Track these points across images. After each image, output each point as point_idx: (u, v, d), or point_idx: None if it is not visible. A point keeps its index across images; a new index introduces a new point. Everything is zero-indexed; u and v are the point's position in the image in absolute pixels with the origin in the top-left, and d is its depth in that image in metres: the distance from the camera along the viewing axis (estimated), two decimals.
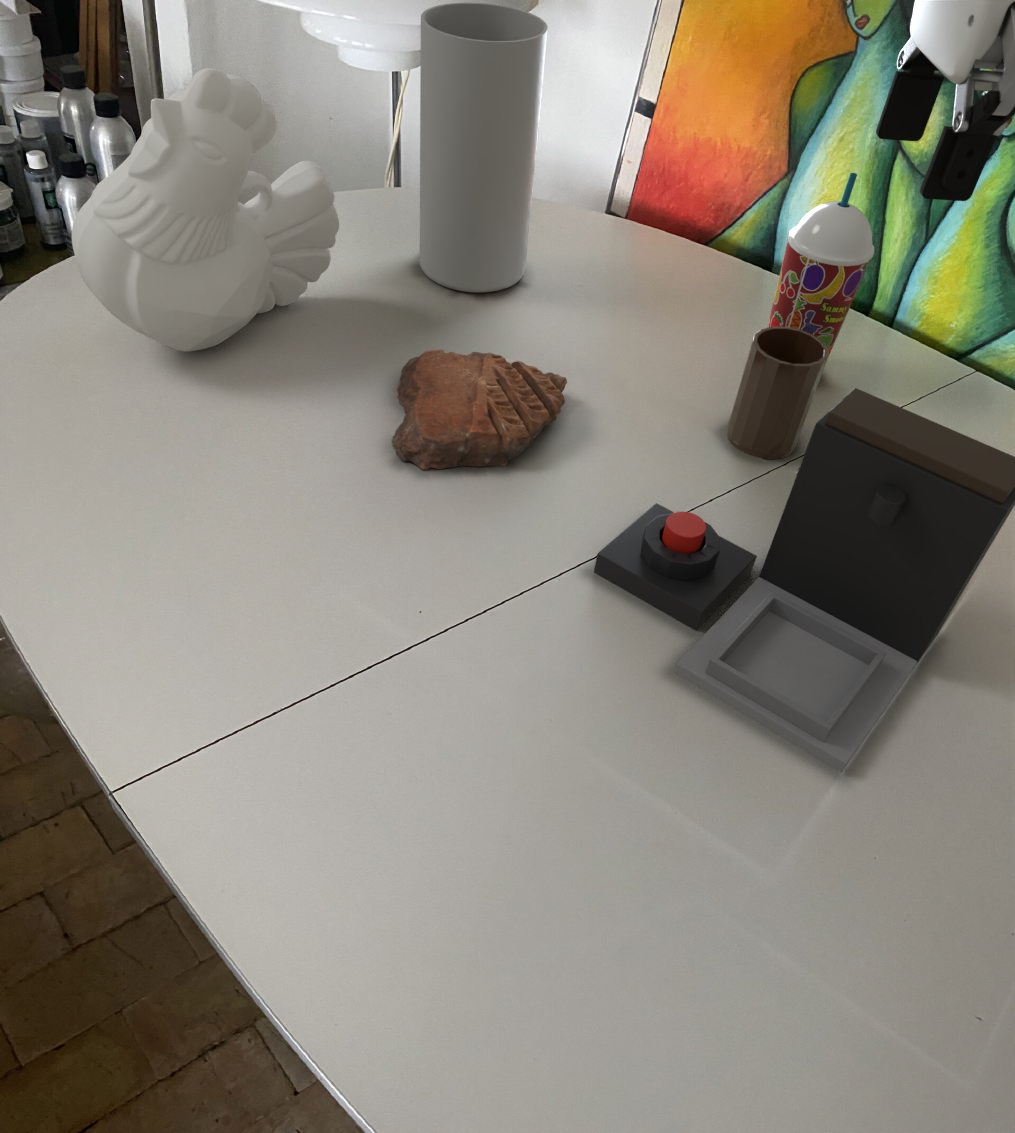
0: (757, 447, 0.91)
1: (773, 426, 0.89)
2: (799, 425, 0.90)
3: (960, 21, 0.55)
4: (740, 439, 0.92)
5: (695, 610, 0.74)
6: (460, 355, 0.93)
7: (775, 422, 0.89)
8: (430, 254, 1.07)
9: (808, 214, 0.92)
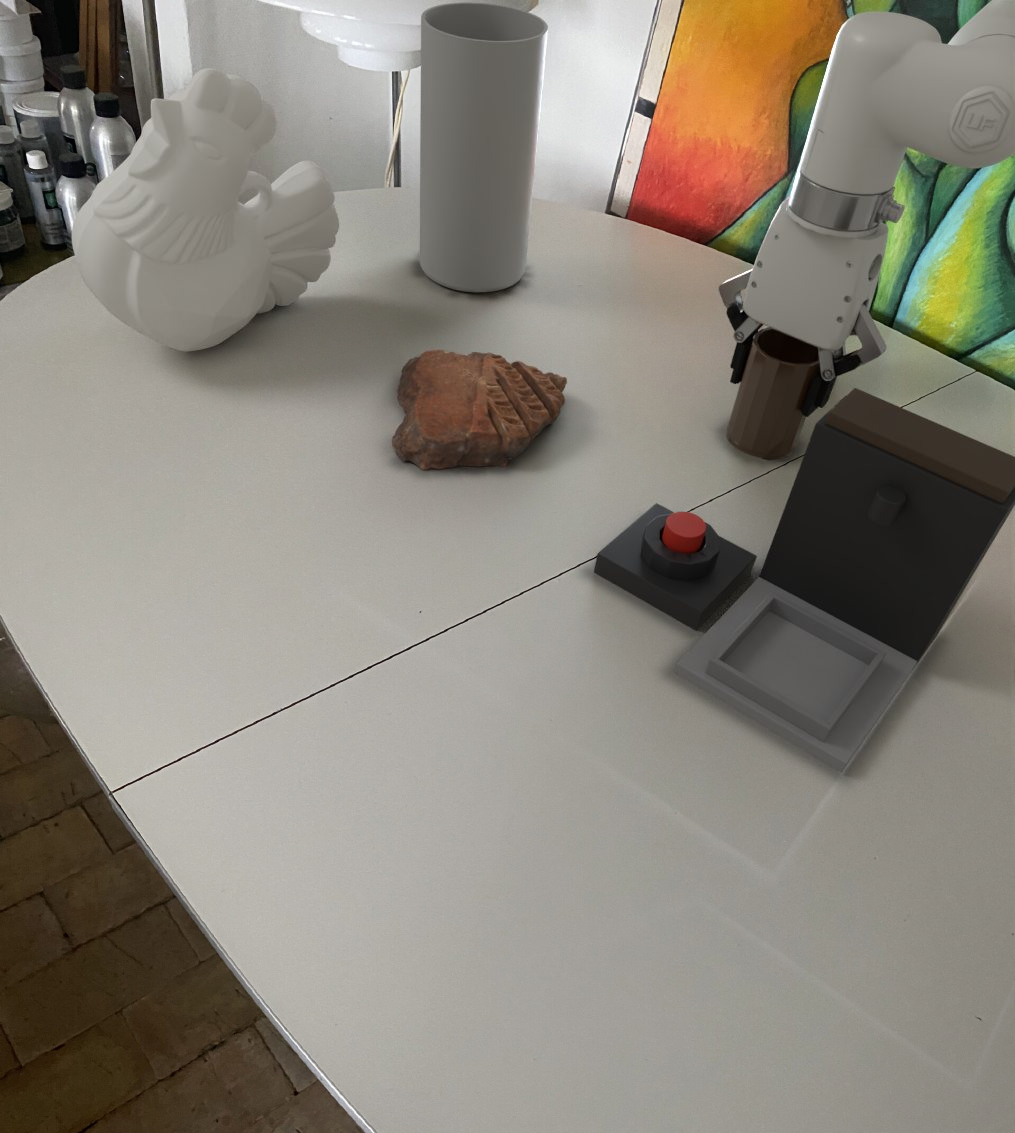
0: (757, 447, 0.91)
1: (773, 426, 0.89)
2: (799, 425, 0.90)
3: (826, 318, 0.81)
4: (740, 439, 0.92)
5: (695, 610, 0.74)
6: (460, 355, 0.93)
7: (775, 422, 0.89)
8: (430, 254, 1.07)
9: None
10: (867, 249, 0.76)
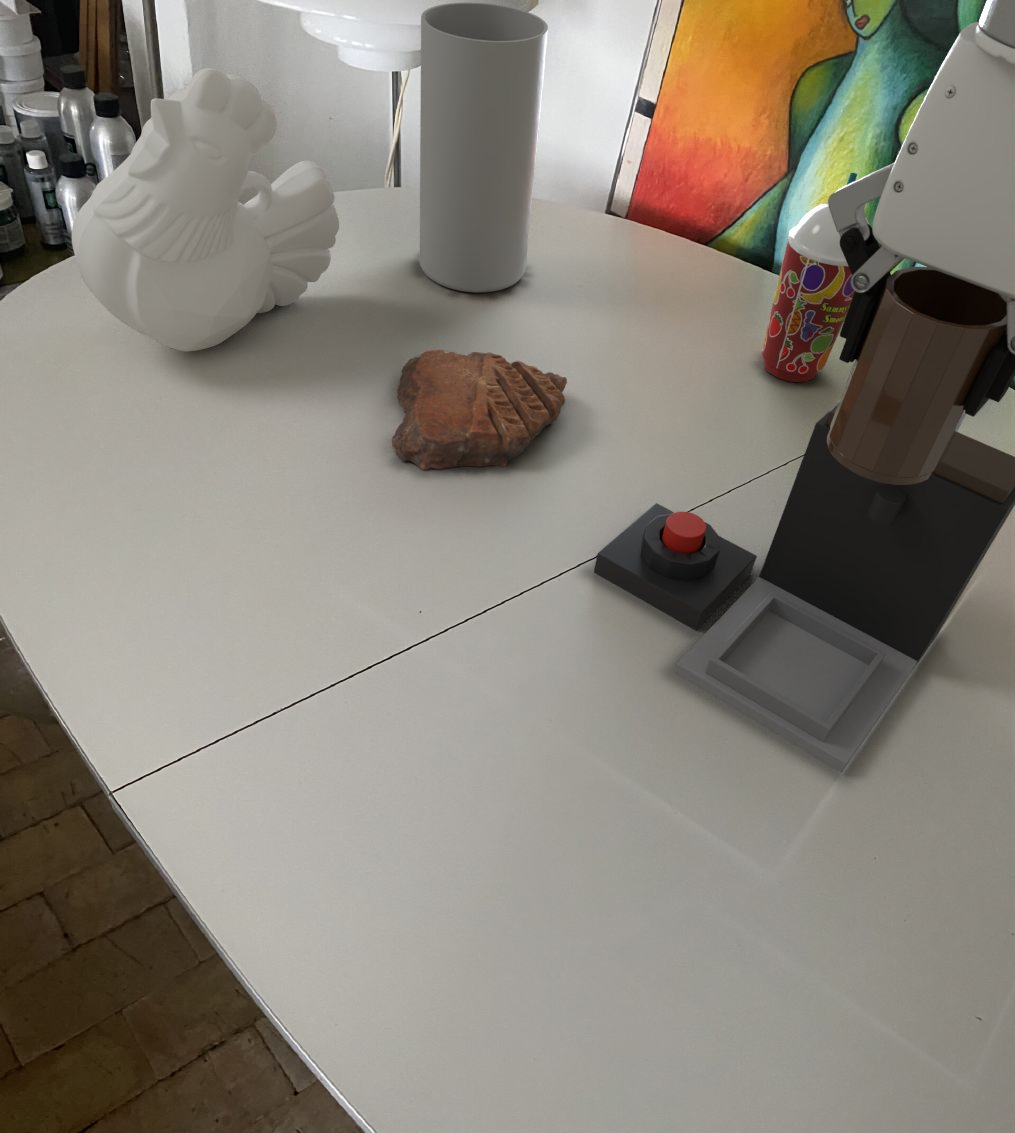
0: (882, 466, 0.56)
1: (914, 432, 0.54)
2: (954, 430, 0.55)
3: None
4: (854, 453, 0.56)
5: (695, 610, 0.74)
6: (460, 355, 0.93)
7: (918, 425, 0.53)
8: (430, 254, 1.07)
9: (808, 214, 0.92)
10: None
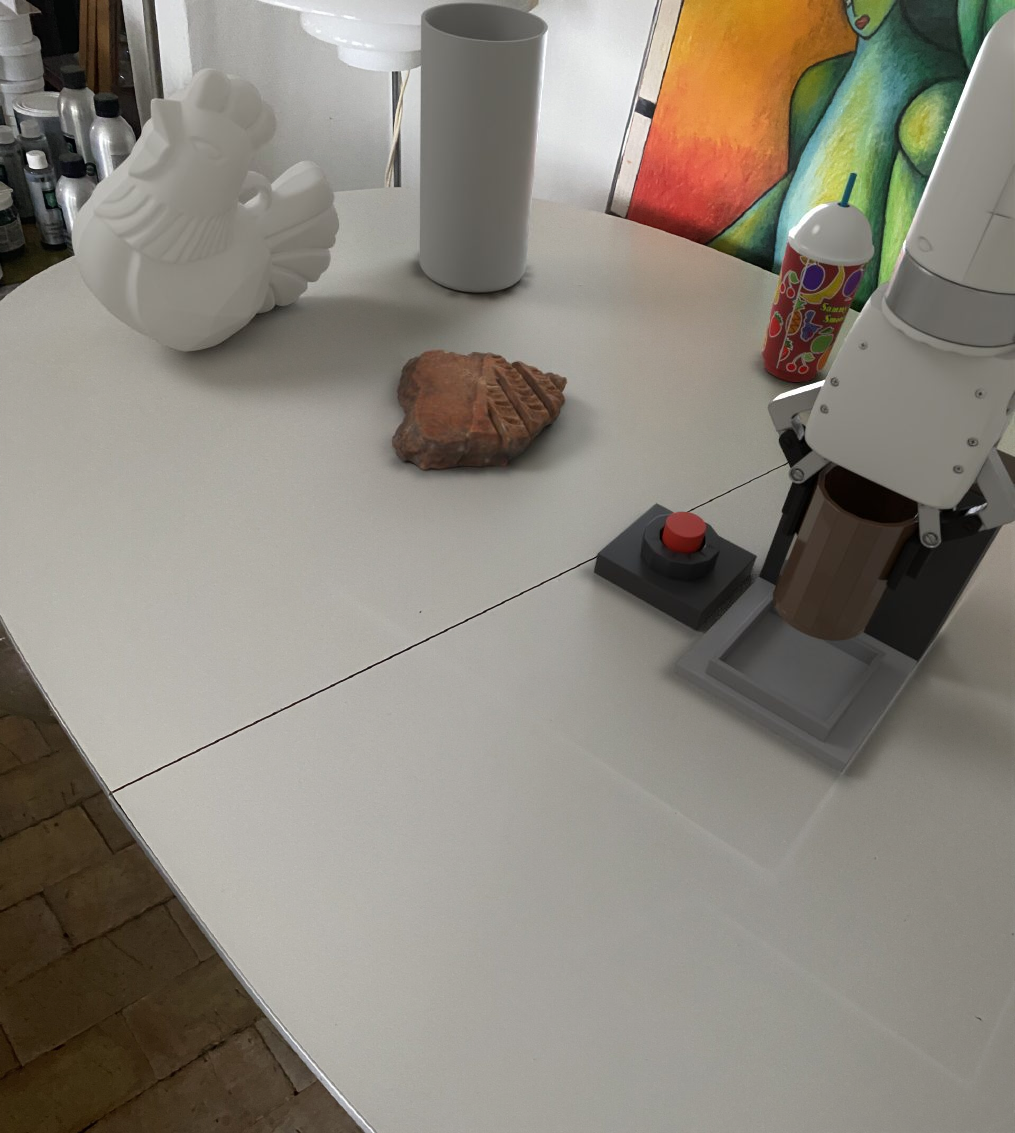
0: (819, 626, 0.64)
1: (844, 601, 0.62)
2: (880, 597, 0.63)
3: (936, 466, 0.54)
4: (794, 613, 0.64)
5: (695, 610, 0.74)
6: (460, 355, 0.93)
7: (847, 597, 0.61)
8: (430, 254, 1.07)
9: (808, 214, 0.92)
10: (1010, 373, 0.49)
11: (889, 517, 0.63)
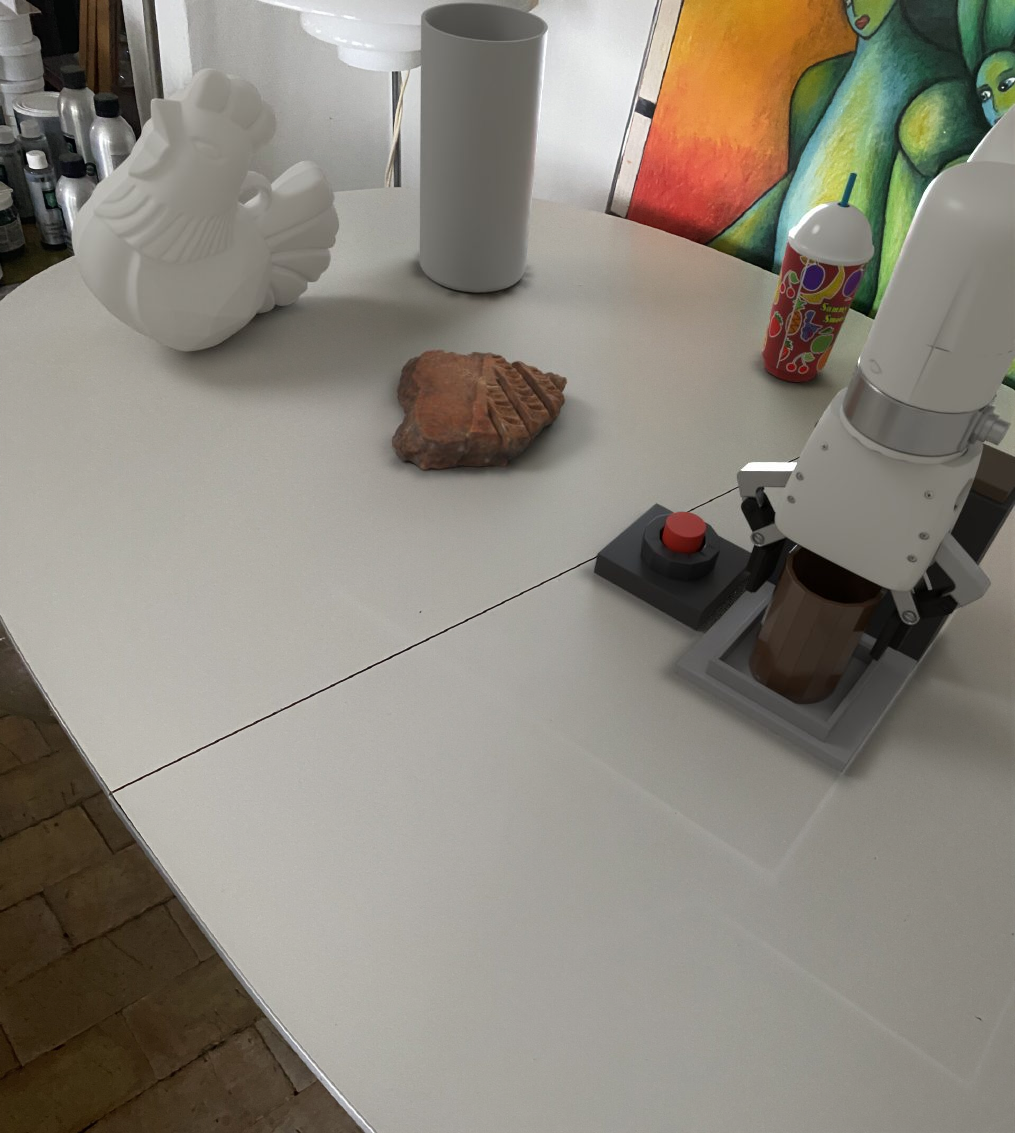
0: (790, 691, 0.69)
1: (812, 670, 0.67)
2: (846, 666, 0.68)
3: (892, 555, 0.59)
4: (767, 678, 0.70)
5: (695, 610, 0.74)
6: (460, 355, 0.93)
7: (815, 666, 0.67)
8: (430, 254, 1.07)
9: (808, 214, 0.92)
10: (955, 478, 0.54)
11: (854, 592, 0.68)
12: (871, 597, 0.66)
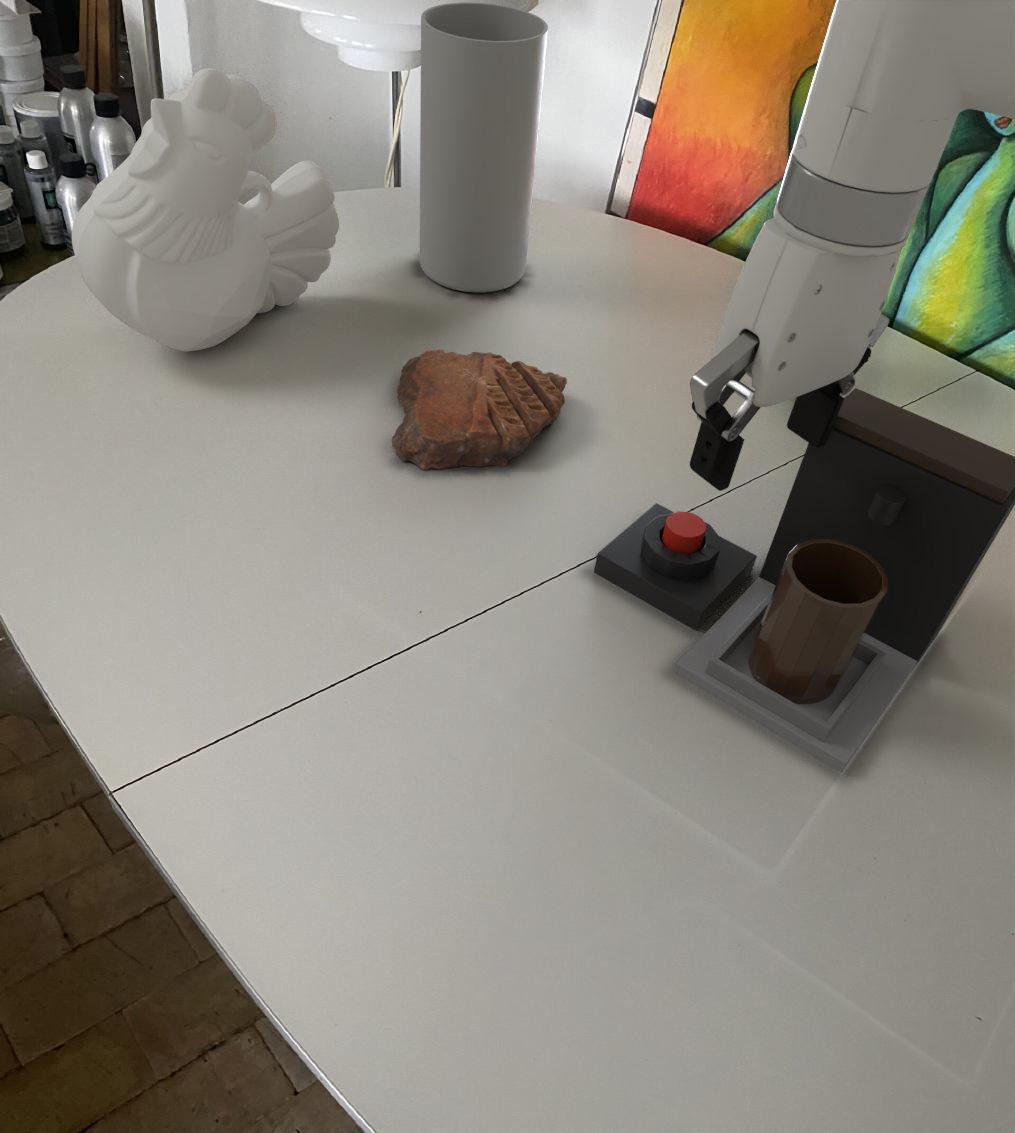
0: (790, 691, 0.69)
1: (812, 670, 0.67)
2: (846, 666, 0.68)
3: (859, 342, 0.59)
4: (767, 678, 0.70)
5: (695, 610, 0.74)
6: (460, 355, 0.93)
7: (815, 666, 0.67)
8: (430, 254, 1.07)
9: None
10: None
11: (854, 592, 0.68)
12: (871, 597, 0.66)
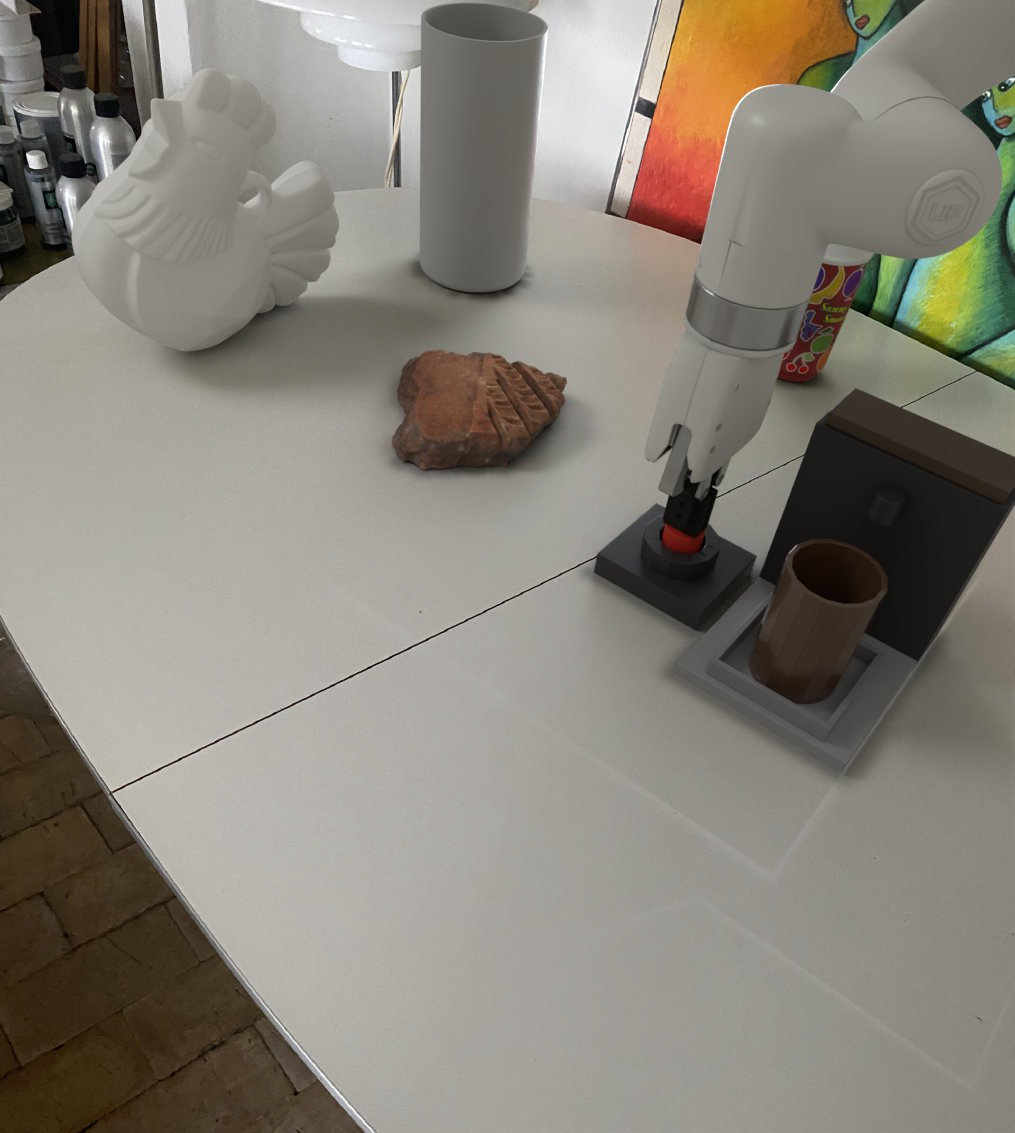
0: (790, 691, 0.69)
1: (812, 670, 0.67)
2: (846, 666, 0.68)
3: (762, 412, 0.69)
4: (767, 678, 0.70)
5: (695, 610, 0.74)
6: (460, 355, 0.93)
7: (815, 666, 0.67)
8: (430, 254, 1.07)
9: None
10: None
11: (854, 592, 0.68)
12: (871, 597, 0.66)
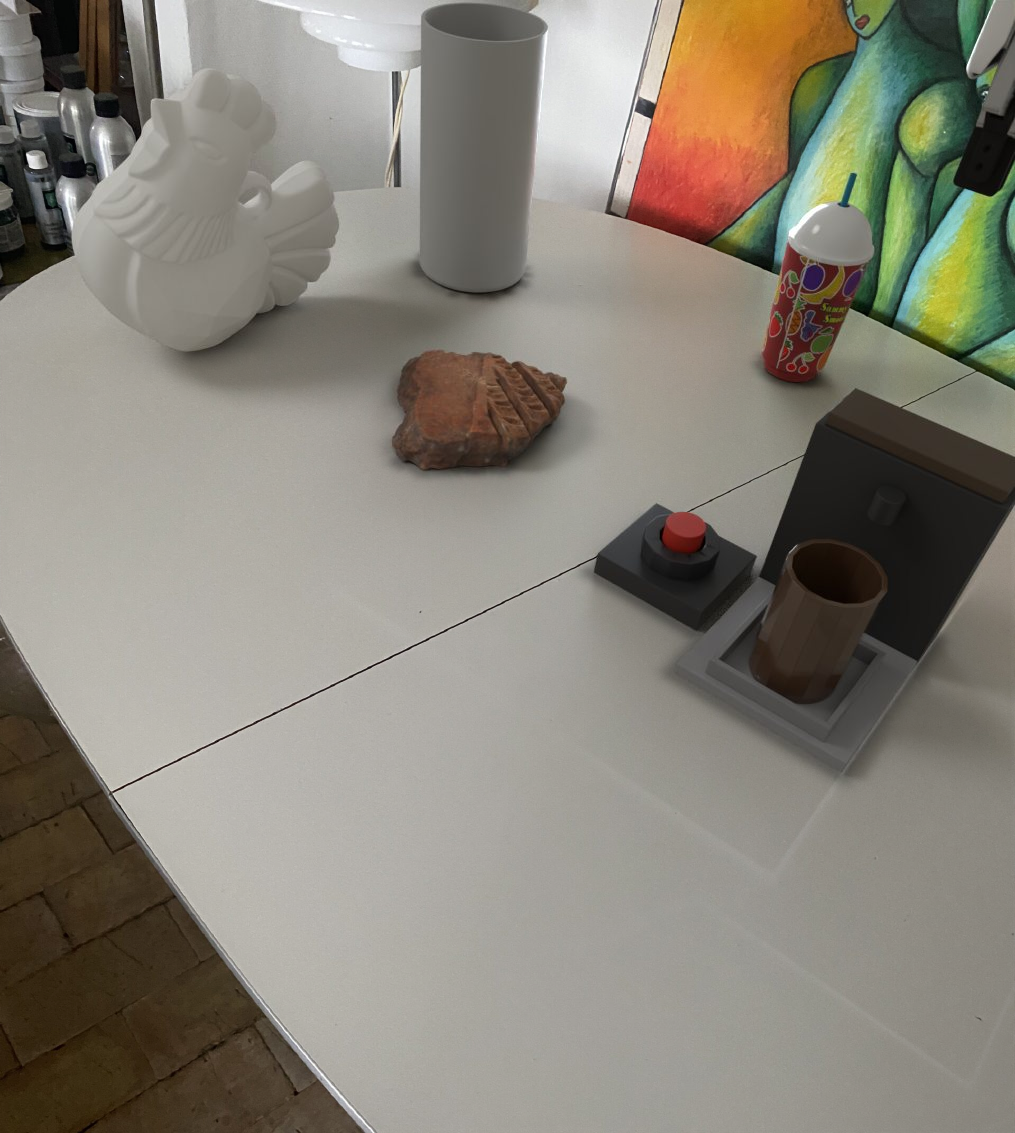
0: (790, 691, 0.69)
1: (812, 670, 0.67)
2: (846, 666, 0.68)
3: None
4: (767, 678, 0.70)
5: (695, 610, 0.74)
6: (460, 355, 0.93)
7: (815, 666, 0.67)
8: (430, 254, 1.07)
9: (808, 214, 0.92)
10: None
11: (854, 592, 0.68)
12: (871, 597, 0.66)
